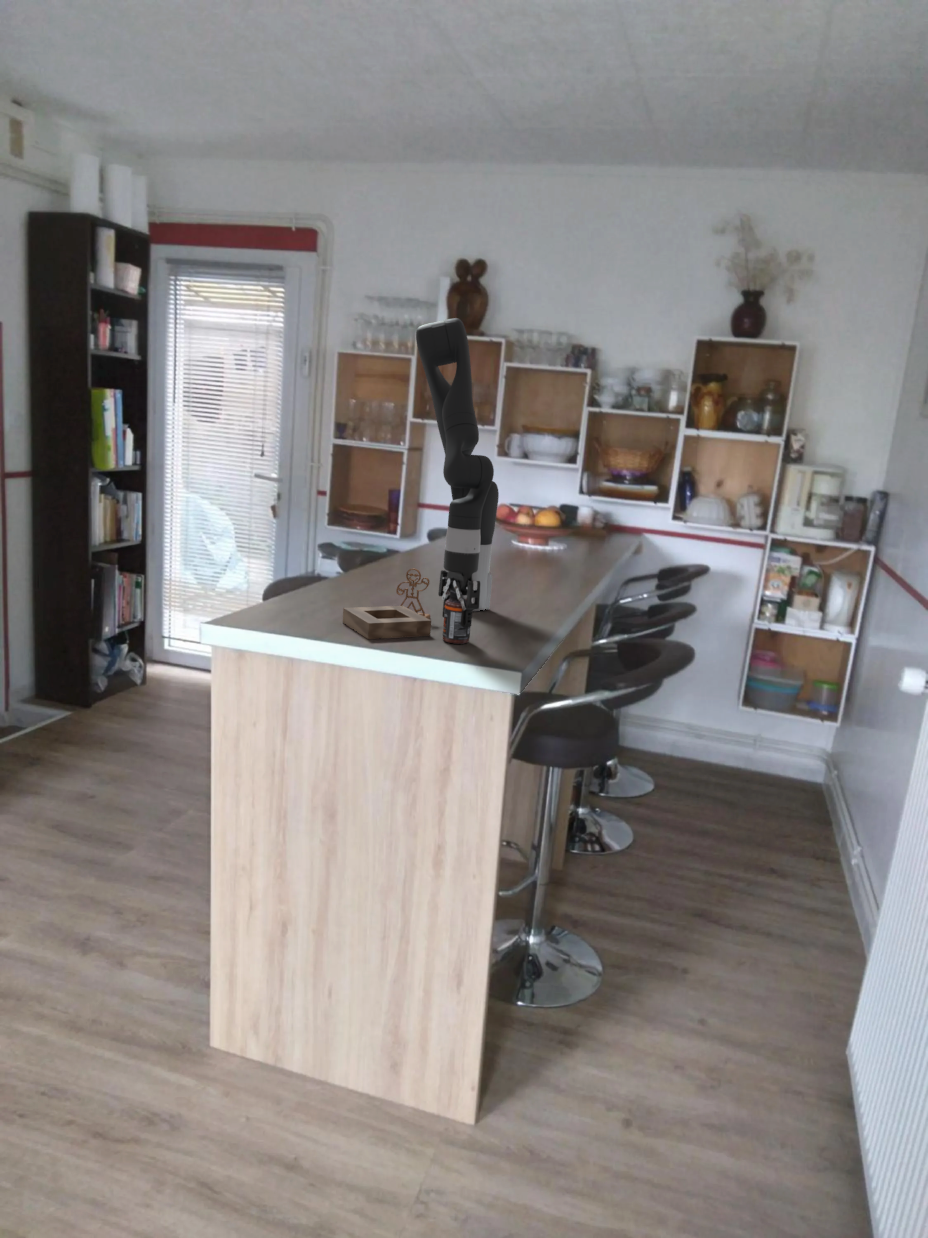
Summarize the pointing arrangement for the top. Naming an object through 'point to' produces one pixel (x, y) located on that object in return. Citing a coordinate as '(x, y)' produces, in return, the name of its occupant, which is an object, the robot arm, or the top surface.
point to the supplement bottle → (454, 622)
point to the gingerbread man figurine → (412, 591)
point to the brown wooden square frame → (386, 622)
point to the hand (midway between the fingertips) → (456, 622)
